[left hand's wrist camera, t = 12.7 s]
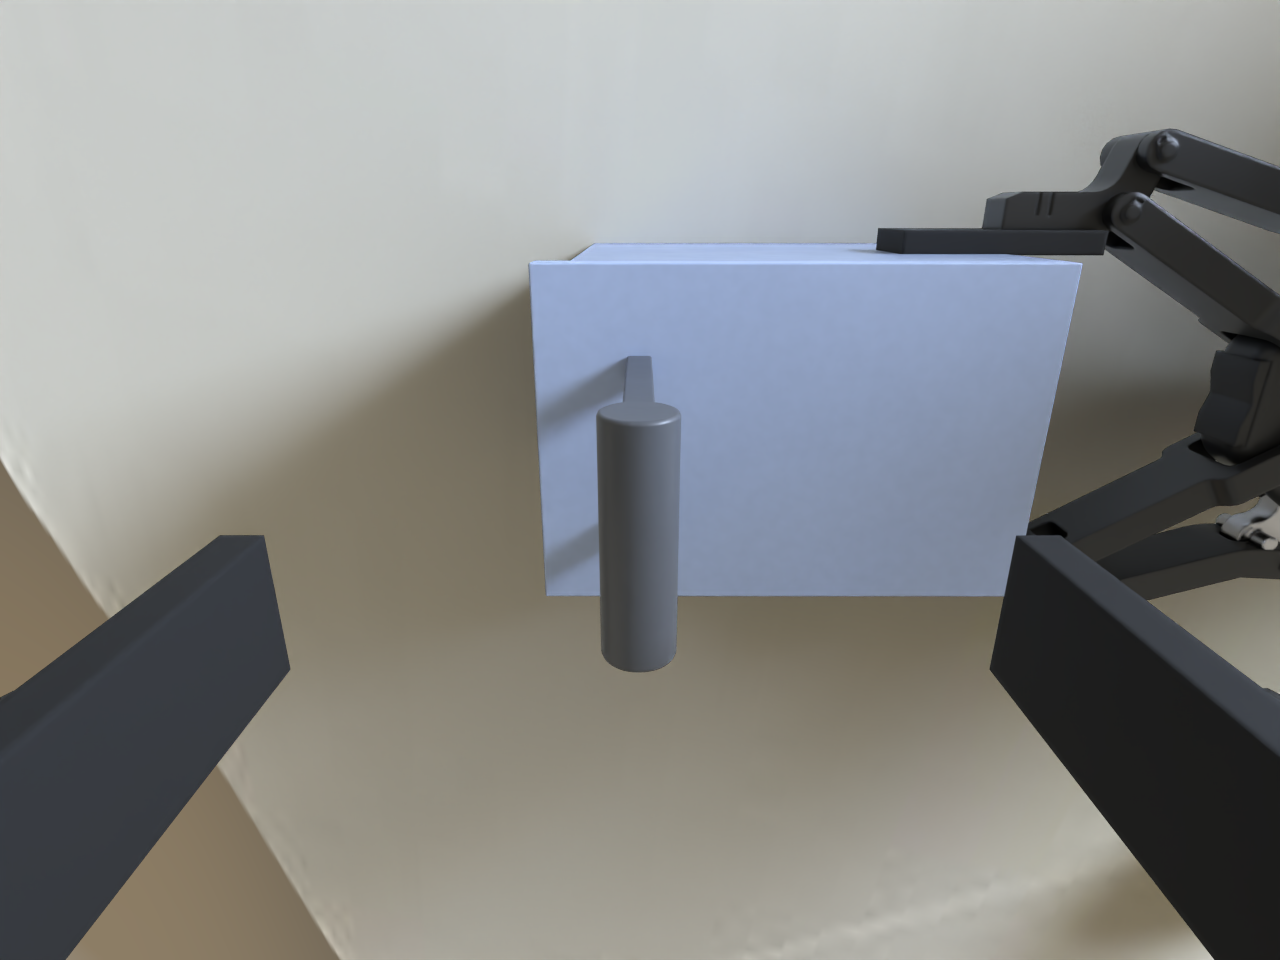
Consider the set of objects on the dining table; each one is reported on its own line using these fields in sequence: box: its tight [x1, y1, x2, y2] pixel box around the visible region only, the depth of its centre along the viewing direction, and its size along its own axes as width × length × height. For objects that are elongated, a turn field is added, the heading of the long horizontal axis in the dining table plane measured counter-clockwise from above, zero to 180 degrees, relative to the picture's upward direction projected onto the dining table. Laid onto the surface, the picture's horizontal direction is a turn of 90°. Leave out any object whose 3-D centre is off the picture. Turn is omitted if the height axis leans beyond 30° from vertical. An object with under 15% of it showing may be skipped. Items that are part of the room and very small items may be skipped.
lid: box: [529, 261, 1082, 672], centre depth 18 cm, size 15×10×8 cm
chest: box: [570, 243, 1059, 261], centre depth 27 cm, size 14×10×11 cm
